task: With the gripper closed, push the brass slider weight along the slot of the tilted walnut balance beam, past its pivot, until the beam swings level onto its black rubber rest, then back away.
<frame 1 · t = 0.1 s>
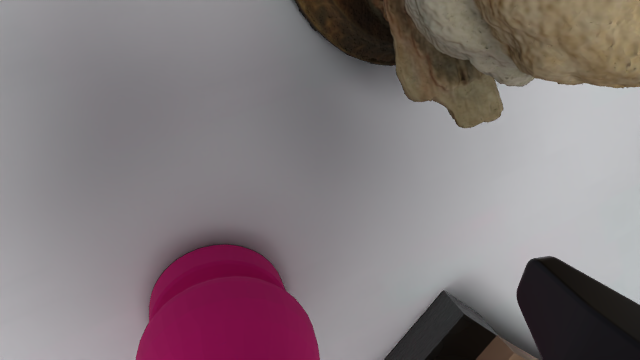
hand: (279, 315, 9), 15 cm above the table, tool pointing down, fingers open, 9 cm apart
pepper mill: (218, 299, 27), on the table
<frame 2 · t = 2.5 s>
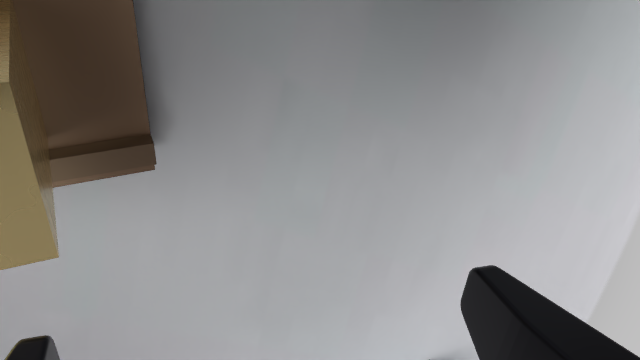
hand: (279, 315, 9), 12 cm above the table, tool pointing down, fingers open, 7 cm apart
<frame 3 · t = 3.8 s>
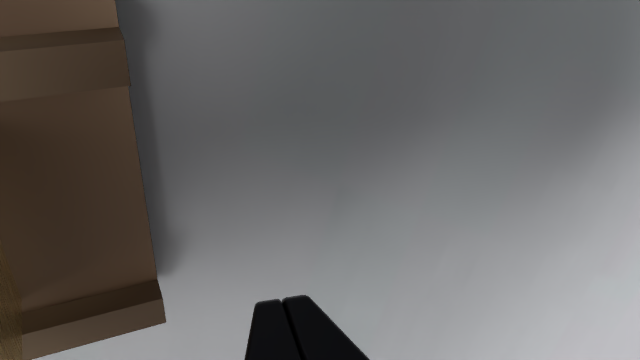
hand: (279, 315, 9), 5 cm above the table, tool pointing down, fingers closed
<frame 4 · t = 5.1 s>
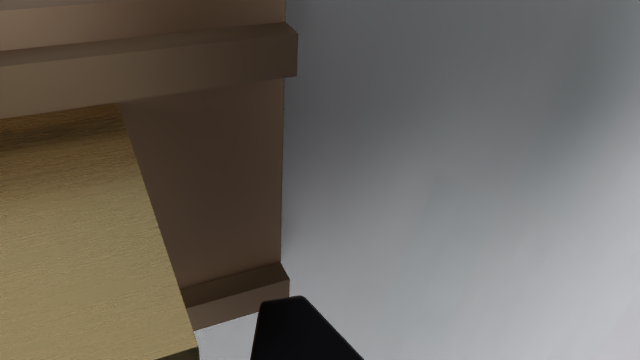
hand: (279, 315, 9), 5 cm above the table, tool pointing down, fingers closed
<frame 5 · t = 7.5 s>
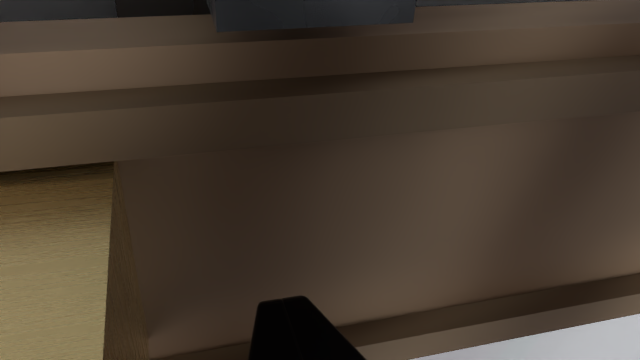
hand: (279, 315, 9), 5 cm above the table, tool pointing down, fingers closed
balance beam: (282, 235, 11), point 3 cm above the table, hinge at 0.5°
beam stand: (253, 145, 13), on the table
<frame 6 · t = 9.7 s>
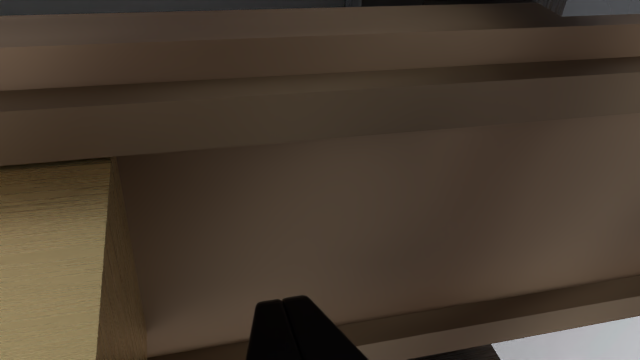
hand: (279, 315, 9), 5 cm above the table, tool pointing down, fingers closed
balance beam: (491, 207, 12), point 3 cm above the table, hinge at 0.6°, touching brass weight
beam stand: (427, 128, 14), on the table
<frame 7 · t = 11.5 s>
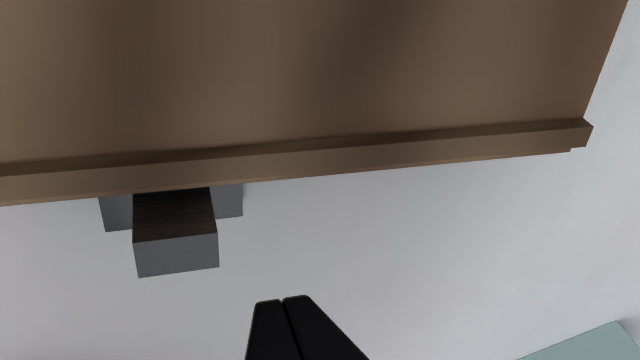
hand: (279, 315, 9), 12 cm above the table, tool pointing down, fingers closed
balance beam: (156, 62, 15), point 3 cm above the table, hinge at 0.6°, touching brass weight
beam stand: (153, 18, 17), on the table
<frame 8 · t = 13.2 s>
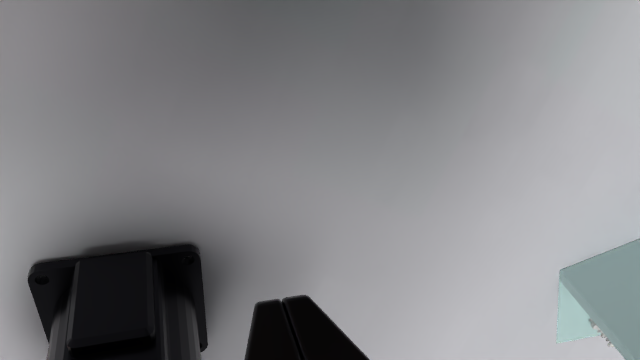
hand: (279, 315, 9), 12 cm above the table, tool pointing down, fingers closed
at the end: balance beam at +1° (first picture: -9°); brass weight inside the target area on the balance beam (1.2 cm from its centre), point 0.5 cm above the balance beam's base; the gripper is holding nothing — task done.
